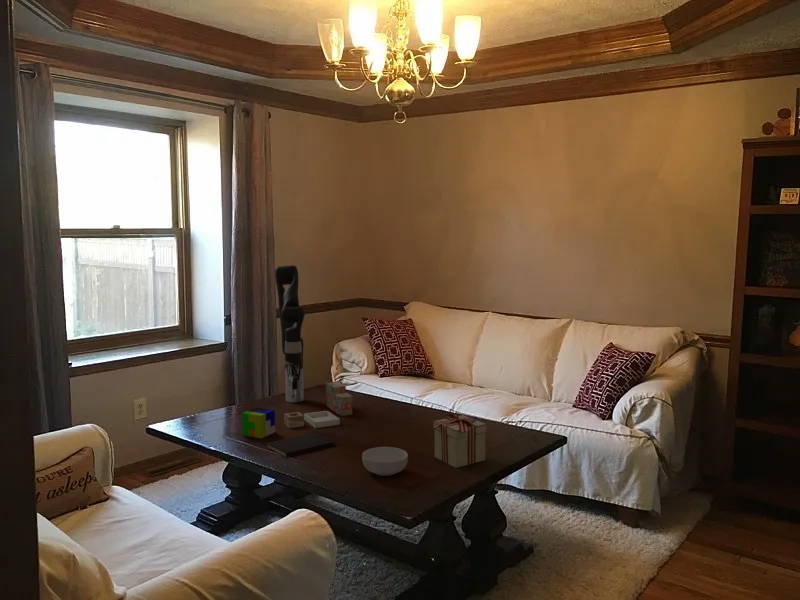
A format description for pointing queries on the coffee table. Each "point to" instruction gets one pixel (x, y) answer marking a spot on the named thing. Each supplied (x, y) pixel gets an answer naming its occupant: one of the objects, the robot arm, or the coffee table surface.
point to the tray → (321, 419)
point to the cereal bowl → (385, 460)
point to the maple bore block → (294, 419)
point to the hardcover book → (300, 444)
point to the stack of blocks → (338, 398)
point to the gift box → (459, 440)
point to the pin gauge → (293, 391)
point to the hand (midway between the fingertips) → (293, 388)
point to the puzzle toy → (258, 422)
